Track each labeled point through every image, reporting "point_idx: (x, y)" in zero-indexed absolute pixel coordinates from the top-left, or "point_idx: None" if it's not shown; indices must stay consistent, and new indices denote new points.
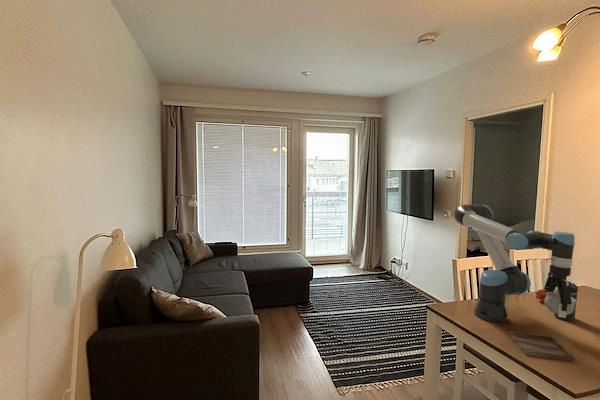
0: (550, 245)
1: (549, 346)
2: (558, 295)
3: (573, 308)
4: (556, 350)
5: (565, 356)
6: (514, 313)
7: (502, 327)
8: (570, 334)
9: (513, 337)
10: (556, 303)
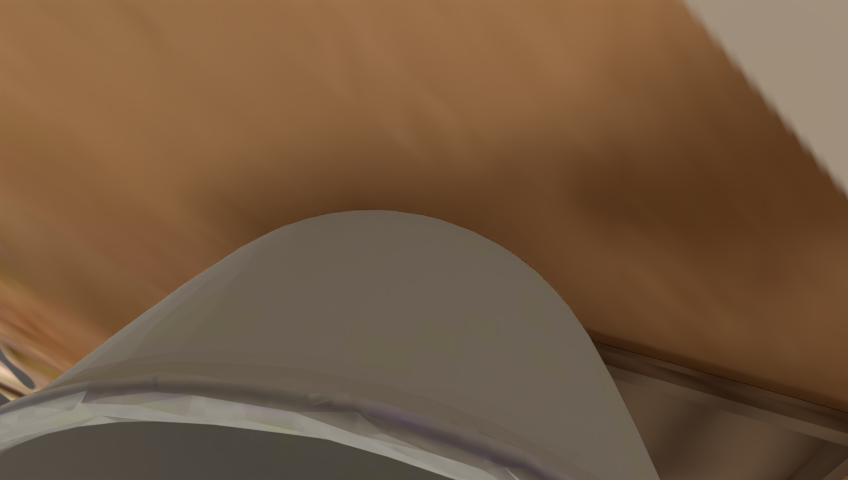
0: None
1: (658, 424)
2: (44, 458)
3: (614, 386)
4: (717, 426)
5: (843, 476)
6: (152, 271)
7: None
8: (459, 87)
9: None
10: None
